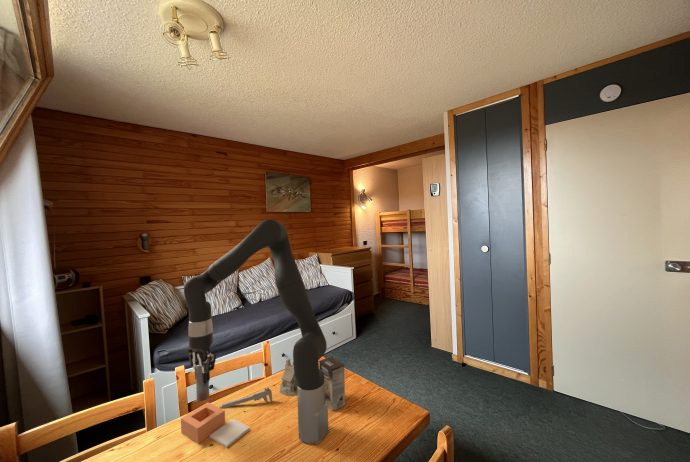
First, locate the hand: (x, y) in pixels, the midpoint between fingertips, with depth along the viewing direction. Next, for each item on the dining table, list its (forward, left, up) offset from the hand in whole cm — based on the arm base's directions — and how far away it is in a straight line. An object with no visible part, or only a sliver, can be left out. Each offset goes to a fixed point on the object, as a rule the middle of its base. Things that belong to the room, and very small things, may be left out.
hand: (202, 380), depth 95 cm
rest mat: (-11, -3, -17) cm, 20 cm away
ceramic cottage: (-14, -36, -17) cm, 42 cm away
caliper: (-2, -16, -18) cm, 24 cm away
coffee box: (-33, -33, -17) cm, 50 cm away
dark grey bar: (0, 0, -6) cm, 6 cm away
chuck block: (0, 0, -17) cm, 17 cm away
